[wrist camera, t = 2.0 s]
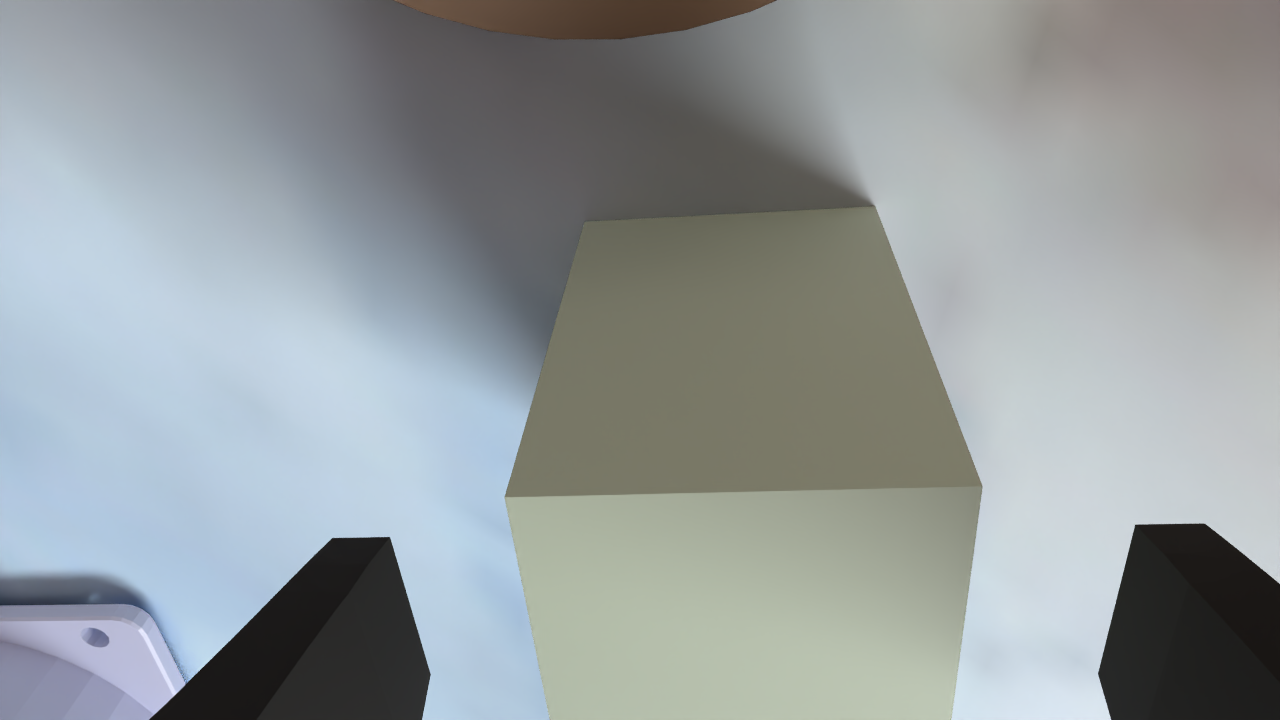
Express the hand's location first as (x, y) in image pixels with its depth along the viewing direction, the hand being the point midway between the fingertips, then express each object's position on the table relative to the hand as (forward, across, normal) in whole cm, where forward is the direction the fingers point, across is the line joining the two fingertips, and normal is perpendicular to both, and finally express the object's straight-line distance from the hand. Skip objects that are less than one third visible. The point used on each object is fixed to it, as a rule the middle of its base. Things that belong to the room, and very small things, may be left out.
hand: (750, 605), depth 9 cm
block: (+5, 0, 0) cm, 5 cm away
